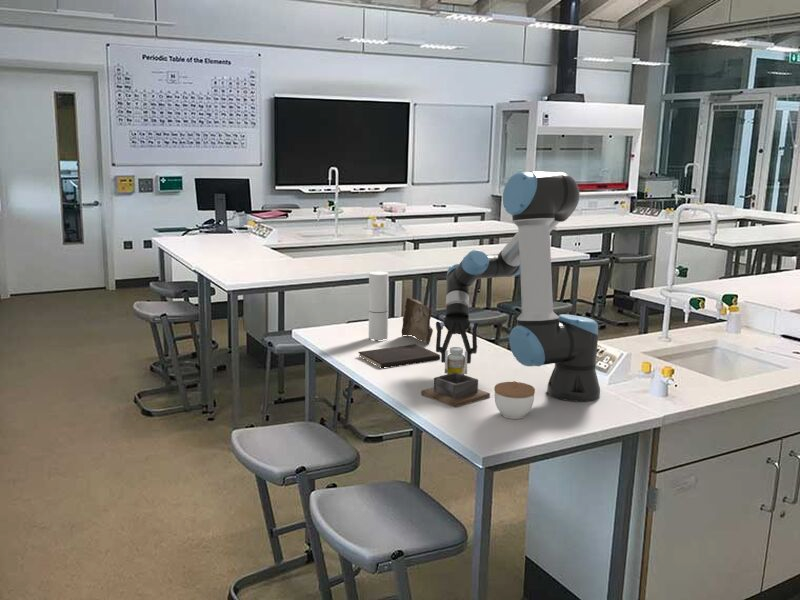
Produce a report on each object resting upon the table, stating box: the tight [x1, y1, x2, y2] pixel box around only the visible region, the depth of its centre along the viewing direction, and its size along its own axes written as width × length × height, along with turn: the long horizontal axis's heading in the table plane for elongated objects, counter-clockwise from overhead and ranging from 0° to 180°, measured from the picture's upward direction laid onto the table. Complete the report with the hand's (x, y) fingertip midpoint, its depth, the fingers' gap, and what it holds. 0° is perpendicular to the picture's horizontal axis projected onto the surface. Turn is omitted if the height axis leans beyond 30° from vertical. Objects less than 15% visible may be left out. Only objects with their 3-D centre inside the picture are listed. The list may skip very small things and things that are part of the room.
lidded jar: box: [493, 380, 536, 420], centre depth 198 cm, size 11×11×9 cm
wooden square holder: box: [420, 372, 491, 408], centre depth 214 cm, size 14×14×5 cm
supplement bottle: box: [446, 346, 465, 375], centre depth 230 cm, size 5×5×10 cm
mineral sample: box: [401, 297, 434, 346], centre depth 275 cm, size 17×4×15 cm, turn 33°
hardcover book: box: [358, 343, 441, 369], centre depth 252 cm, size 16×23×2 cm
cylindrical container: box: [368, 271, 389, 340], centre depth 275 cm, size 7×7×25 cm
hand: (455, 371), depth 227 cm, fingers closed on supplement bottle, 5 cm apart
